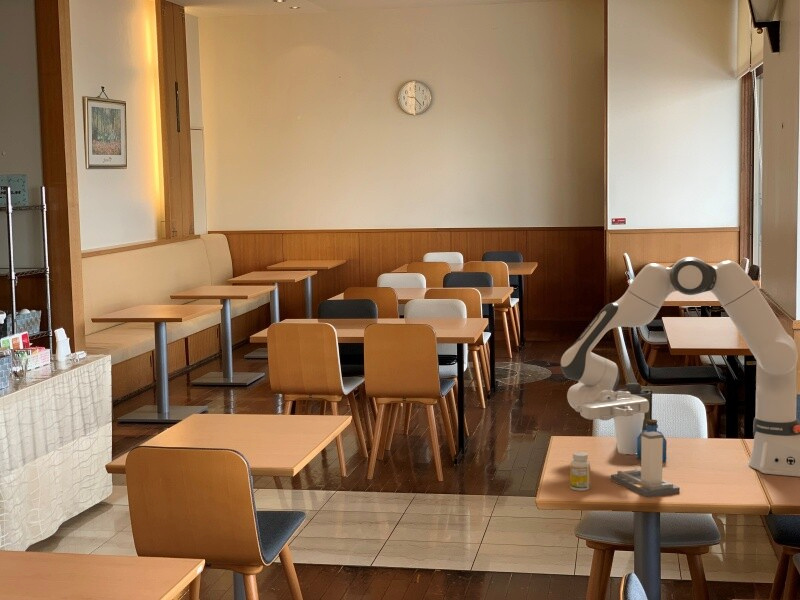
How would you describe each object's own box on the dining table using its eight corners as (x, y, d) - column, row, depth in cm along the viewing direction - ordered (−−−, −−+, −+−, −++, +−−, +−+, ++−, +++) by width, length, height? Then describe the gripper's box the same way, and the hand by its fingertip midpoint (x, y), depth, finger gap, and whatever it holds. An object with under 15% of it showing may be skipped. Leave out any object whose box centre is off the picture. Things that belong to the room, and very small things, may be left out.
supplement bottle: (582, 492, 278) (582, 457, 277) (566, 488, 282) (566, 454, 281) (594, 488, 282) (594, 453, 281) (578, 484, 286) (578, 450, 285)
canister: (624, 450, 322) (624, 387, 320) (611, 442, 333) (612, 381, 331) (657, 448, 324) (657, 385, 322) (643, 440, 334) (644, 379, 332)
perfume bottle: (655, 456, 315) (655, 417, 314) (666, 461, 309) (666, 421, 308) (637, 458, 313) (637, 419, 312) (648, 463, 307) (648, 423, 306)
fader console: (611, 479, 290) (611, 471, 289) (641, 476, 293) (641, 467, 293) (647, 497, 273) (647, 488, 273) (679, 493, 276) (679, 483, 276)
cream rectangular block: (640, 482, 281) (640, 432, 279) (653, 481, 282) (654, 431, 281) (649, 486, 277) (649, 436, 276) (662, 484, 278) (663, 434, 277)
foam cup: (641, 456, 314) (642, 414, 313) (611, 454, 317) (611, 413, 316) (645, 449, 323) (645, 408, 322) (615, 447, 326) (615, 406, 325)
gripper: (571, 397, 300) (596, 406, 287) (632, 390, 307) (659, 398, 294) (572, 419, 300) (597, 428, 287) (633, 411, 307) (660, 419, 294)
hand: (629, 413), depth 291 cm, fingers closed
